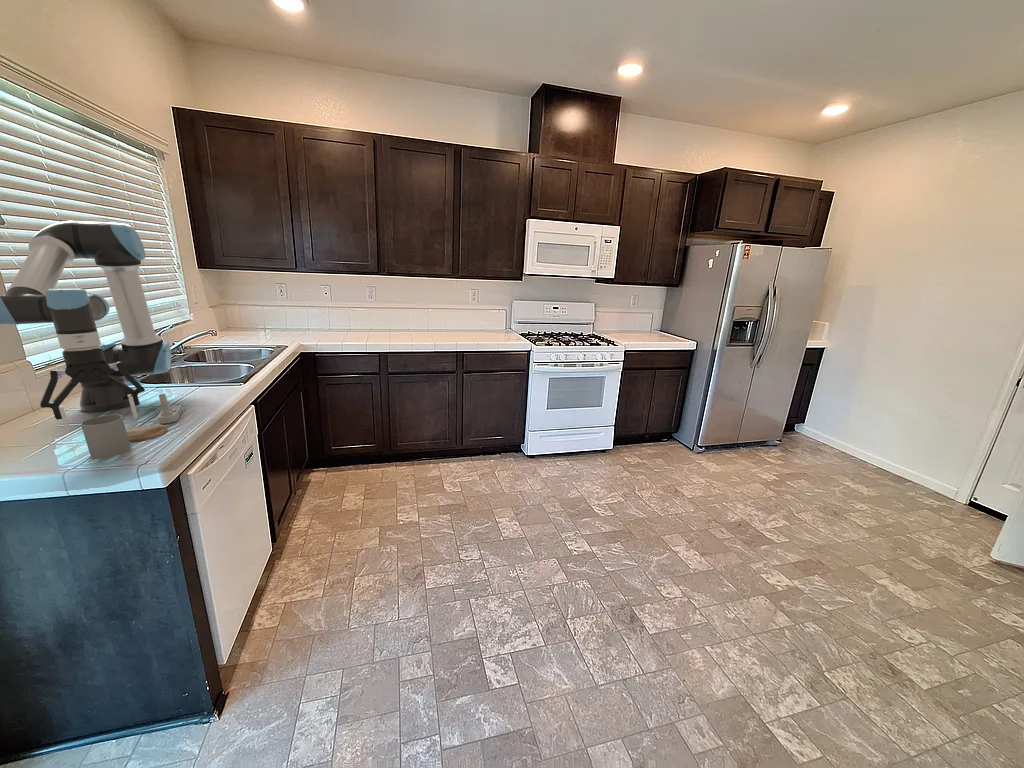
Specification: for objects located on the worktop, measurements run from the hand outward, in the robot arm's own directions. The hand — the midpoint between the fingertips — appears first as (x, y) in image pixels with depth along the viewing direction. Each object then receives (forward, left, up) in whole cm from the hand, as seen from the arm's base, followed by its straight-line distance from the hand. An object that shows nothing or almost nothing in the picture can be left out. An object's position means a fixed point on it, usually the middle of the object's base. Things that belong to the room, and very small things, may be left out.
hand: (103, 423), depth 114 cm
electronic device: (-22, +17, -10) cm, 30 cm away
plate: (-10, +8, -9) cm, 16 cm away
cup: (-1, 0, -9) cm, 9 cm away
